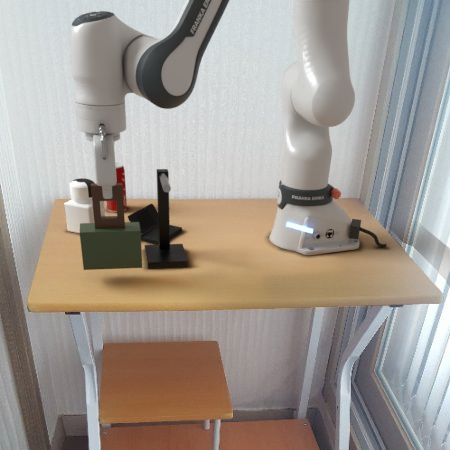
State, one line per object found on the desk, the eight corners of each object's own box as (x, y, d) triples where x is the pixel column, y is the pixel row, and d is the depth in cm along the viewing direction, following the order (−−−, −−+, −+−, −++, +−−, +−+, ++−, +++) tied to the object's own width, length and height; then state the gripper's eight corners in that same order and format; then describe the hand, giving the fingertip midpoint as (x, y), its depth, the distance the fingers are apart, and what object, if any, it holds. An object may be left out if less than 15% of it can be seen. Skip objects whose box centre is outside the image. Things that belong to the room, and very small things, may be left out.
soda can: (128, 212, 158) (125, 166, 151) (107, 213, 157) (103, 167, 150) (126, 205, 163) (123, 160, 156) (106, 206, 162) (102, 161, 154)
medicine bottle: (82, 222, 151) (77, 174, 144) (106, 226, 150) (102, 178, 142) (67, 231, 146) (60, 182, 139) (91, 236, 144) (86, 187, 137)
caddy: (140, 258, 126) (137, 180, 116) (142, 267, 122) (138, 188, 112) (83, 260, 124) (75, 180, 114) (83, 270, 120) (74, 188, 110)
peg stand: (182, 249, 140) (182, 167, 128) (188, 269, 131) (188, 183, 120) (144, 250, 138) (140, 167, 127) (148, 271, 130) (144, 183, 118)
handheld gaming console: (168, 239, 140) (145, 201, 137) (146, 254, 143) (123, 217, 141) (185, 229, 150) (164, 194, 147) (164, 243, 153) (143, 209, 151)
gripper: (121, 132, 99) (126, 213, 107) (117, 107, 115) (121, 179, 123) (83, 132, 98) (91, 214, 106) (84, 107, 113) (91, 179, 122)
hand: (107, 195), depth 115 cm, fingers closed on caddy
